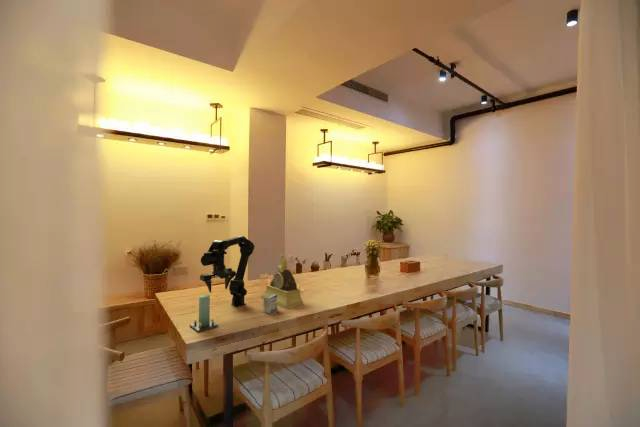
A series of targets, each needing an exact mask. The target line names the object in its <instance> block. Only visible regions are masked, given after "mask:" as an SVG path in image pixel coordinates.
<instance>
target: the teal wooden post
mask: <svg viewBox="0 0 640 427" xmlns="http://www.w3.org/2000/svg"><path fill="white" fill-rule="evenodd" d="M210 307H211V295H209V294H203V295H199V297H198V322H199V323H202V327H203V326H208V325H209V324H210V320H211V319H210V312H211V310H210V309H211V308H210Z"/></svg>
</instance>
